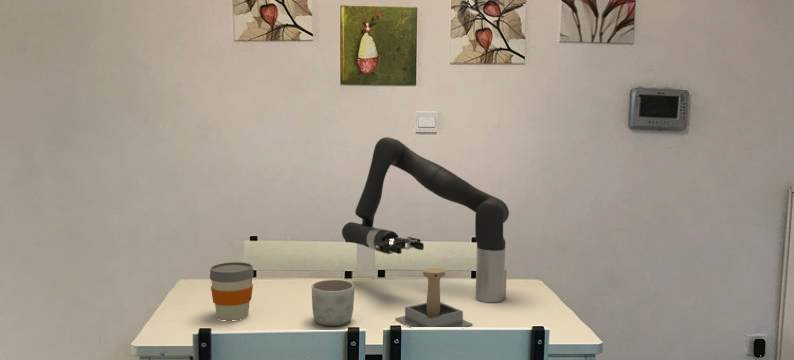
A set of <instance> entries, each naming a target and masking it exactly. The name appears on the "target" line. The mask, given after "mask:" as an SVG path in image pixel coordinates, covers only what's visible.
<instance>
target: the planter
mask: <svg viewBox="0 0 794 360" xmlns="http://www.w3.org/2000/svg"><path fill="white" fill-rule="evenodd" d="M354 303H355V284H354V283H353V282H351V281H349V280H344V279H324V280H319V281H316V282H314V283H312V285H311V305H312V307H311V308H312V314H313V315H312V316H313V318H314V320H315V322H316V323H318V324H320V325H322V326H326V327H338V326H343V325H346V324H348V322H350V321H351V320H352V317H353V312H354Z"/></svg>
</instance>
